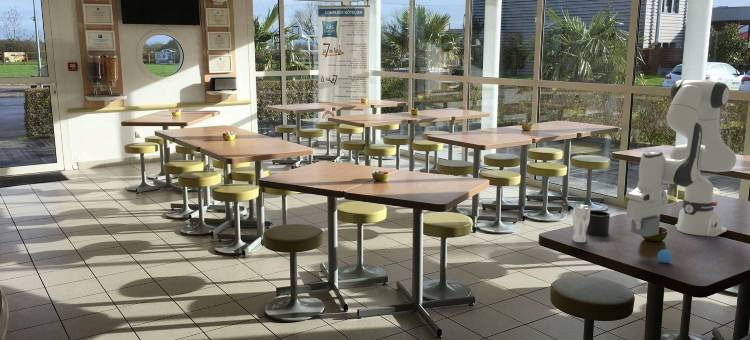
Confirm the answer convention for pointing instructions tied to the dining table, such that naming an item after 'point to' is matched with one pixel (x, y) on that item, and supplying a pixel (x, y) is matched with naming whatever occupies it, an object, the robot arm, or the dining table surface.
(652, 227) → the grey block
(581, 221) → the beer glass
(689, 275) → the dining table surface
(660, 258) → the ball
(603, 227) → the mug
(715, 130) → the robot arm
